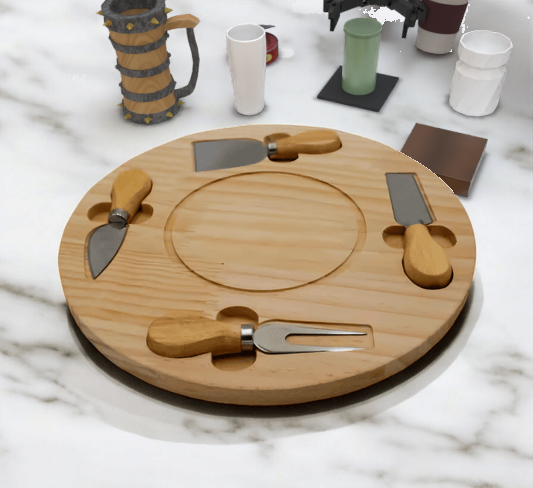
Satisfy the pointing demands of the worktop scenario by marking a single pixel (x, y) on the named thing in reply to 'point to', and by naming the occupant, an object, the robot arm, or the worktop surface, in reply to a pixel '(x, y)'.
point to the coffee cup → (440, 25)
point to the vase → (479, 72)
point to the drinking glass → (247, 66)
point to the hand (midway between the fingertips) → (367, 28)
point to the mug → (148, 57)
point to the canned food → (270, 46)
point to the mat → (367, 101)
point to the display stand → (447, 154)
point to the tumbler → (360, 55)
